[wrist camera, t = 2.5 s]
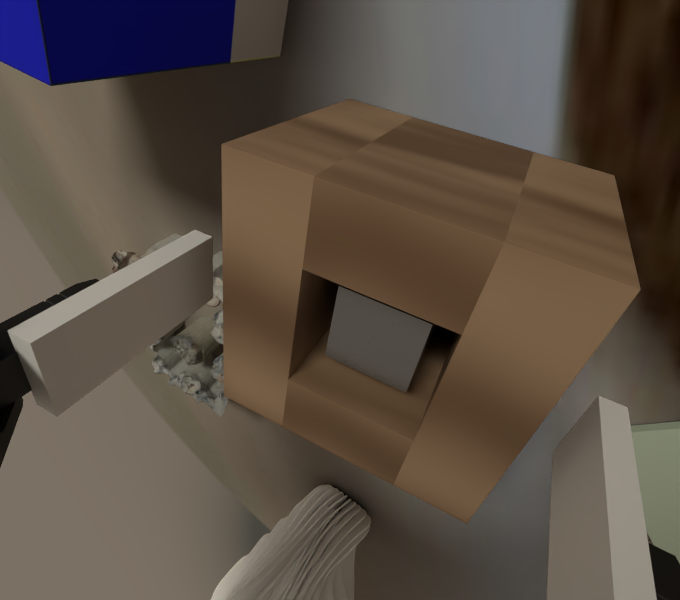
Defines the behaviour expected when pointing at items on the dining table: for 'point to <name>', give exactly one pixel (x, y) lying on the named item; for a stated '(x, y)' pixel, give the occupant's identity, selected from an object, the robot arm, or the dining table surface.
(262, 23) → the puzzle toy
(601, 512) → the robot arm
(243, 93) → the dining table surface
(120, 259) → the grey piece
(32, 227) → the dining table surface
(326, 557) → the shell sculpture
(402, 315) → the stand post
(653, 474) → the square base plate
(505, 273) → the hollow square sleeve
